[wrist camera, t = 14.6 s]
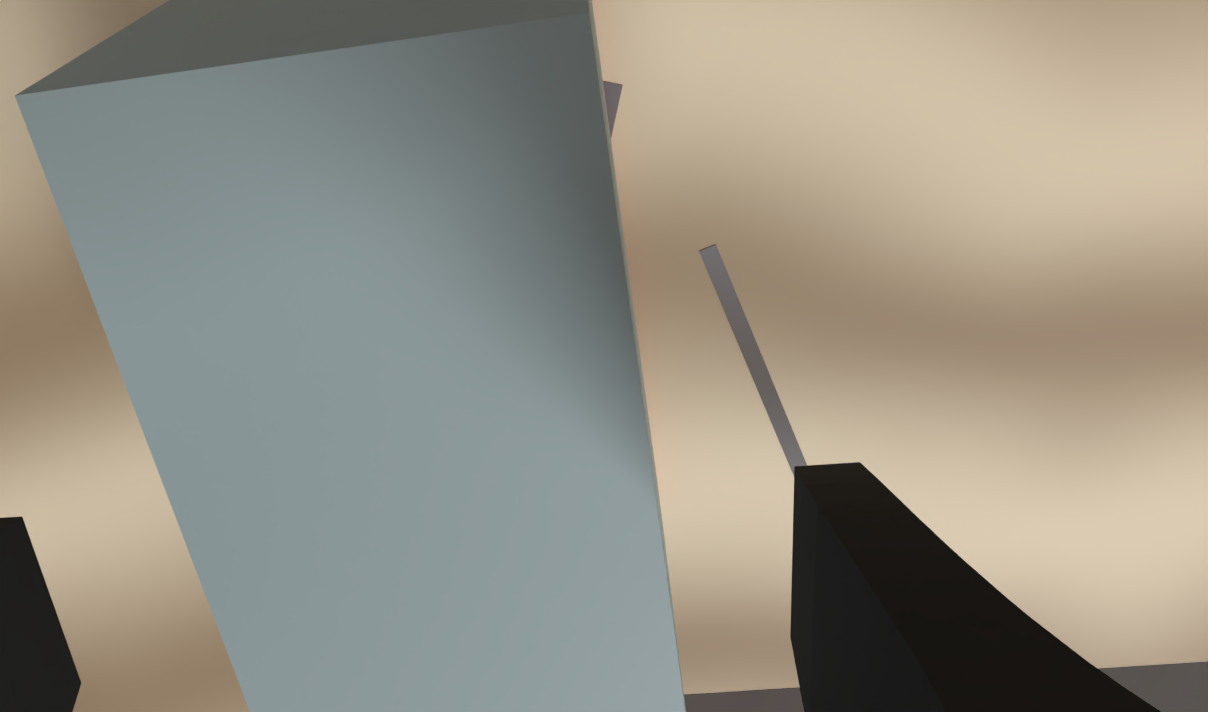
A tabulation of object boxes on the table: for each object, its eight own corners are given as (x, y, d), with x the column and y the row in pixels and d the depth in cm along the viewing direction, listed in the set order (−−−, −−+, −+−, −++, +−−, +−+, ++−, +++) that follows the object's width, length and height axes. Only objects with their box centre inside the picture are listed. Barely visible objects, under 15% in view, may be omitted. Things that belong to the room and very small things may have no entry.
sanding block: (658, 495, 17) (692, 759, 12) (359, 533, 17) (286, 807, 13) (582, -75, 13) (589, 13, 9) (199, -18, 13) (15, 95, 9)
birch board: (1258, 594, 20) (1308, 655, 19) (-106, 681, 20) (-154, 747, 19) (1510, -335, 13) (1614, -345, 12) (-515, -205, 14) (-635, -201, 12)
